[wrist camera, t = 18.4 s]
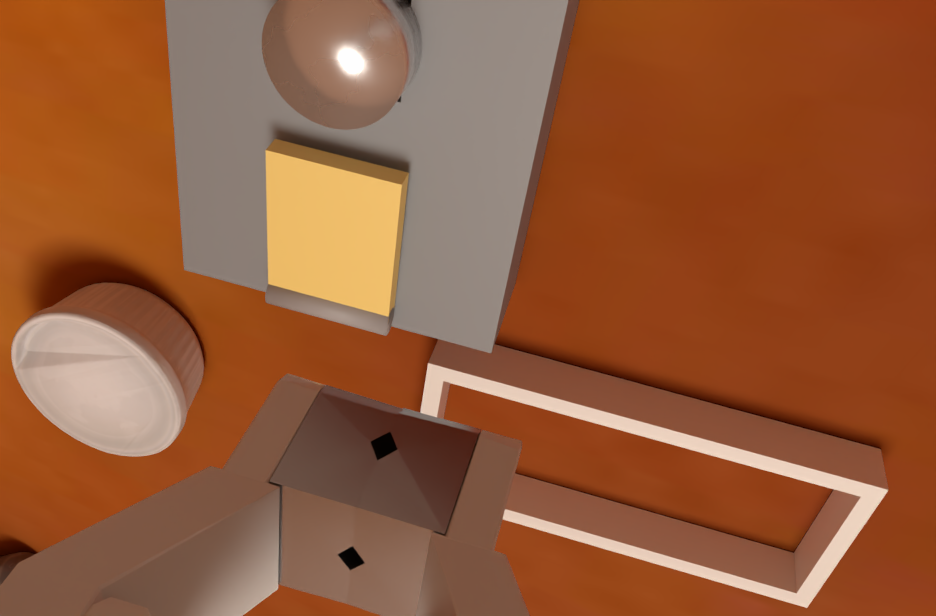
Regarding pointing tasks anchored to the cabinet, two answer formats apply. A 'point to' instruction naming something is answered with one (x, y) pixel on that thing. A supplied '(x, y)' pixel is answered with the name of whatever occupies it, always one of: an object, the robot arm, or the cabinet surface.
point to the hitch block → (380, 149)
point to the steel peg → (342, 57)
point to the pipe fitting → (11, 563)
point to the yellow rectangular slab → (333, 235)
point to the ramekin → (111, 368)
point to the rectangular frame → (686, 426)
